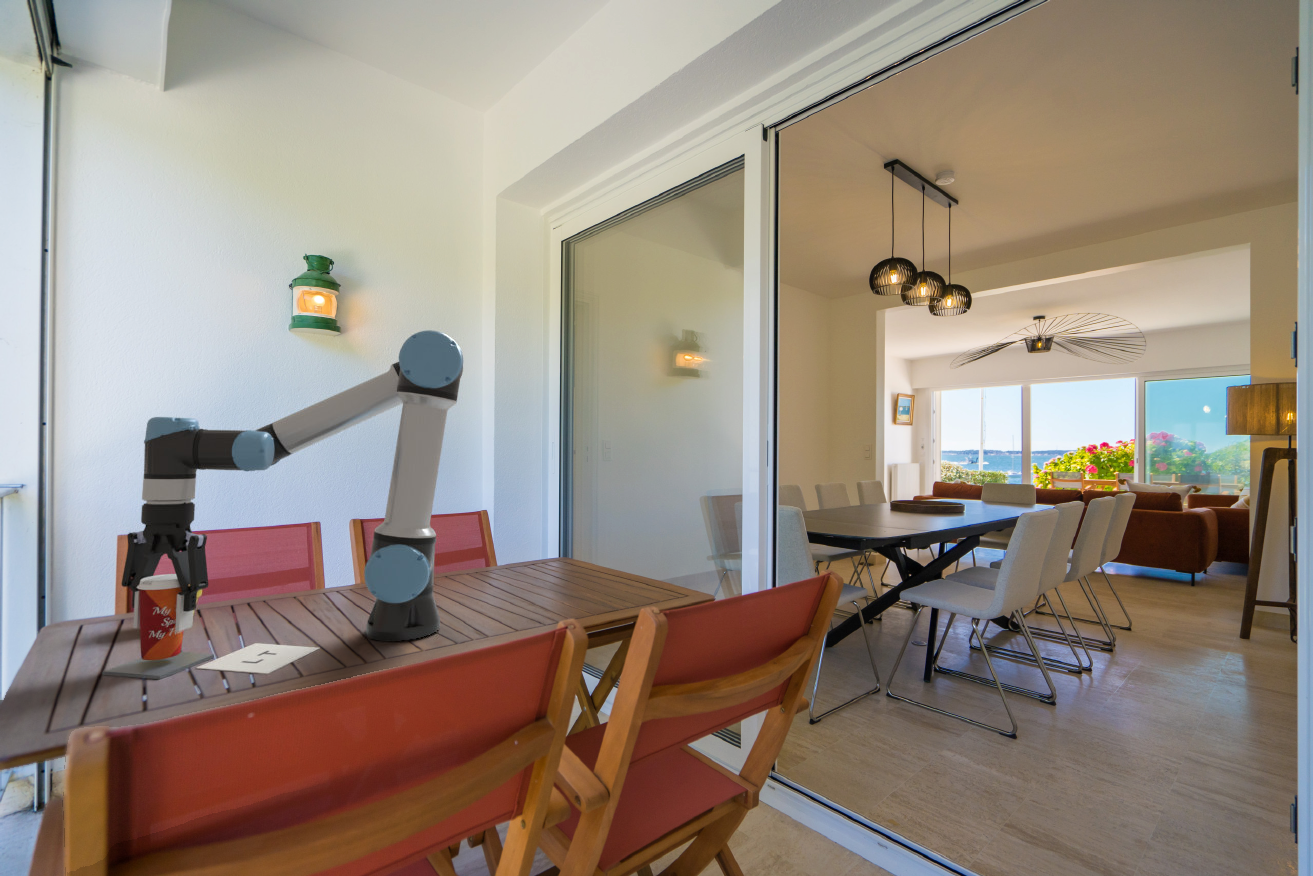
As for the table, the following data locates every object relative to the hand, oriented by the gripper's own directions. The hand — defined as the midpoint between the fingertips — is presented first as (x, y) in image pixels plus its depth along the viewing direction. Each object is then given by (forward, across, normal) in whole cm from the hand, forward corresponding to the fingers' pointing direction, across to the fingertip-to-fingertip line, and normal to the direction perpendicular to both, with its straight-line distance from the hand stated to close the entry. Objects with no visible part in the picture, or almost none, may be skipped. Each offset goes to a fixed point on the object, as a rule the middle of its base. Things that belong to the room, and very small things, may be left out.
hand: (163, 627), depth 109 cm
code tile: (+7, -14, -7) cm, 17 cm away
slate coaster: (+7, 0, 0) cm, 7 cm away
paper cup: (+5, 0, 0) cm, 5 cm away
